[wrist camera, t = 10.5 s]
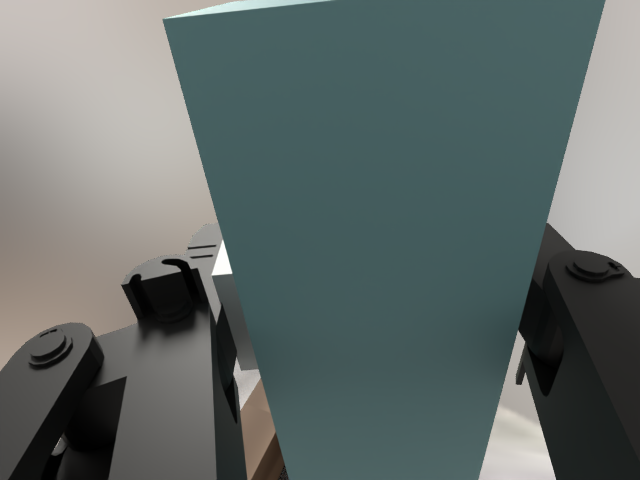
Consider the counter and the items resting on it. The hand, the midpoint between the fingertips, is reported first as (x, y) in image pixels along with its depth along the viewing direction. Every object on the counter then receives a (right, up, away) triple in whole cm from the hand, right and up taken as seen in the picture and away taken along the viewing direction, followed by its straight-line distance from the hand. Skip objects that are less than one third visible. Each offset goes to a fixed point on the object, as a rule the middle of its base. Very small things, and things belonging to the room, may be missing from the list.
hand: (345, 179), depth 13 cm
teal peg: (+1, -10, 0) cm, 10 cm away
